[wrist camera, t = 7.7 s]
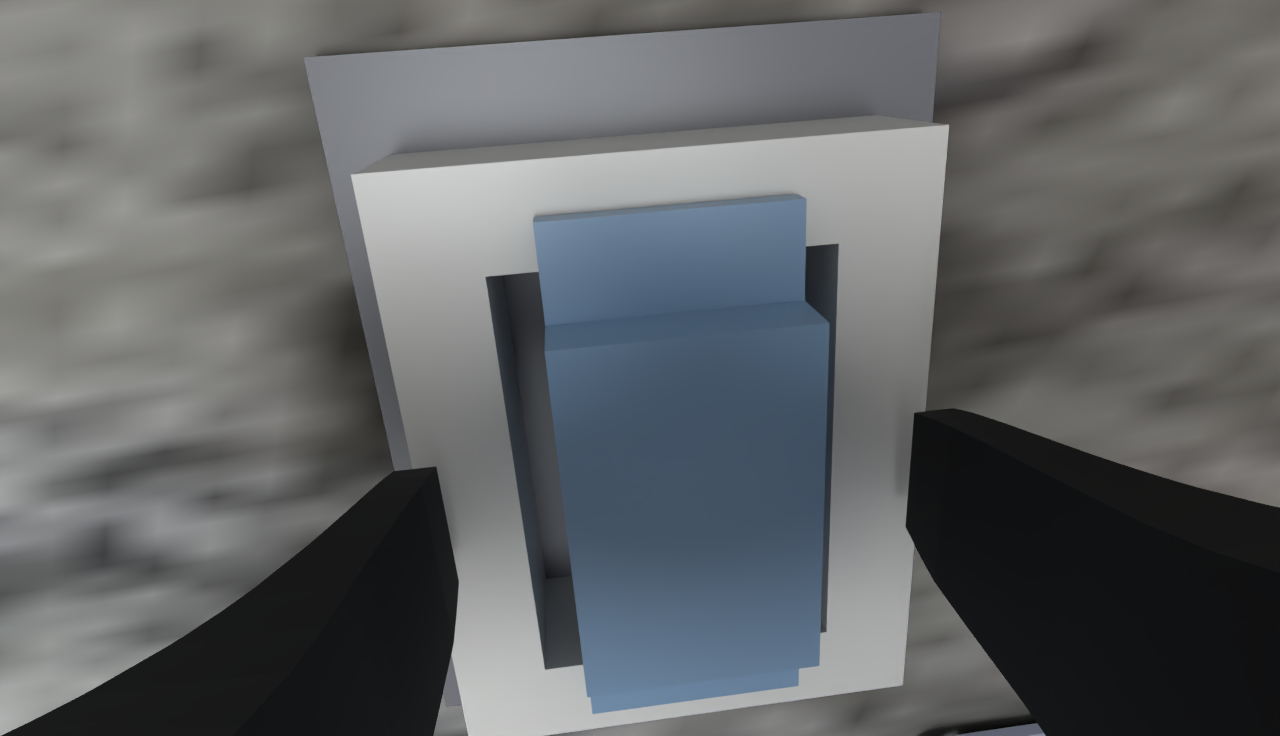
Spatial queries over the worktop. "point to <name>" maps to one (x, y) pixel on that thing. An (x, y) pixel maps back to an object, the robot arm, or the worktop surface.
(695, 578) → the block
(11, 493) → the worktop surface
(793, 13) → the worktop surface
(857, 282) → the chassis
